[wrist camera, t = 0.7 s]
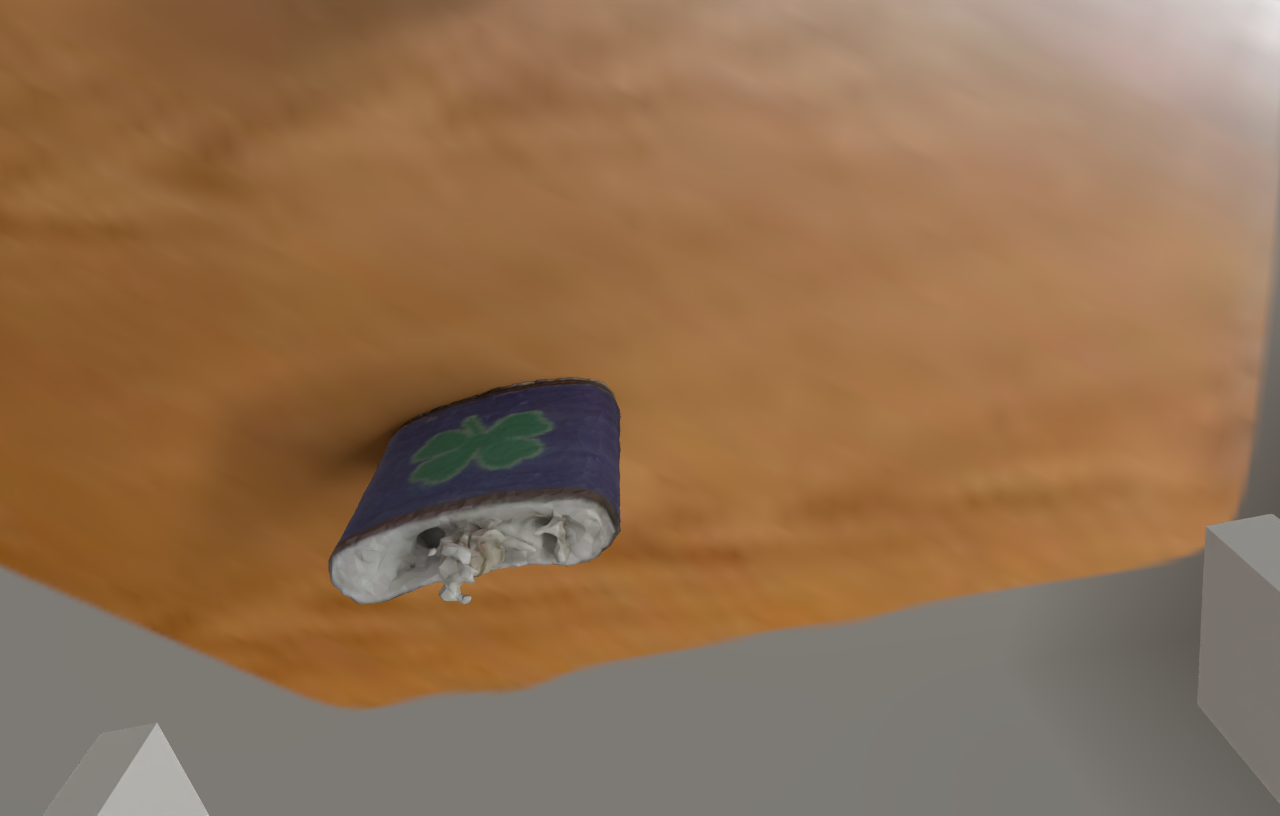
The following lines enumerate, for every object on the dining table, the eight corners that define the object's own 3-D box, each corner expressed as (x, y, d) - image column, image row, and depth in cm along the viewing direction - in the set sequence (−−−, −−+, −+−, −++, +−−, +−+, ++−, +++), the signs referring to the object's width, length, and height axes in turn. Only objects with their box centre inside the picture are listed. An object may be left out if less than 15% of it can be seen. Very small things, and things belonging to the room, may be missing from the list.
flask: (403, 479, 36) (323, 652, 27) (378, 414, 35) (285, 570, 25) (627, 429, 36) (630, 588, 26) (609, 361, 35) (605, 501, 25)
